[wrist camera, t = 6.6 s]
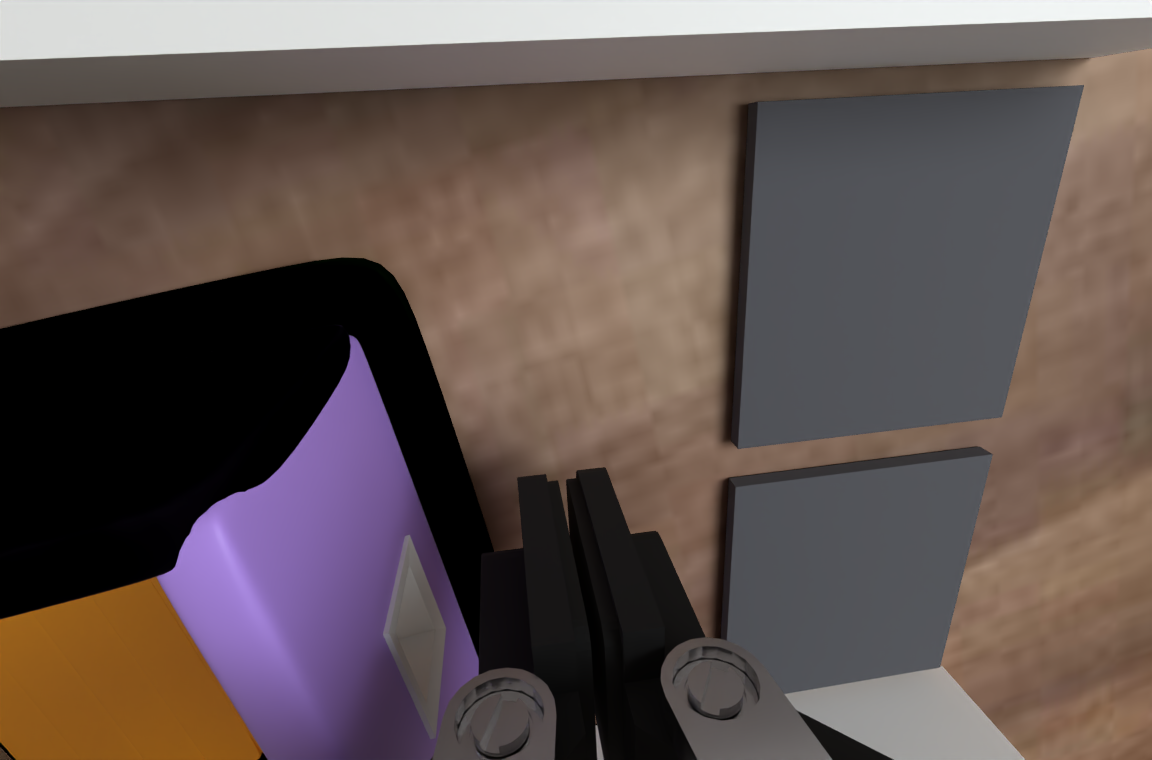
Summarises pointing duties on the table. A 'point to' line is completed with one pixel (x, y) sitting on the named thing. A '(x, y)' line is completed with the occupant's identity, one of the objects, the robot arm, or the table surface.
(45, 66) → the box
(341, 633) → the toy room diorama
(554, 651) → the robot arm
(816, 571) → the pads
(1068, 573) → the table surface
